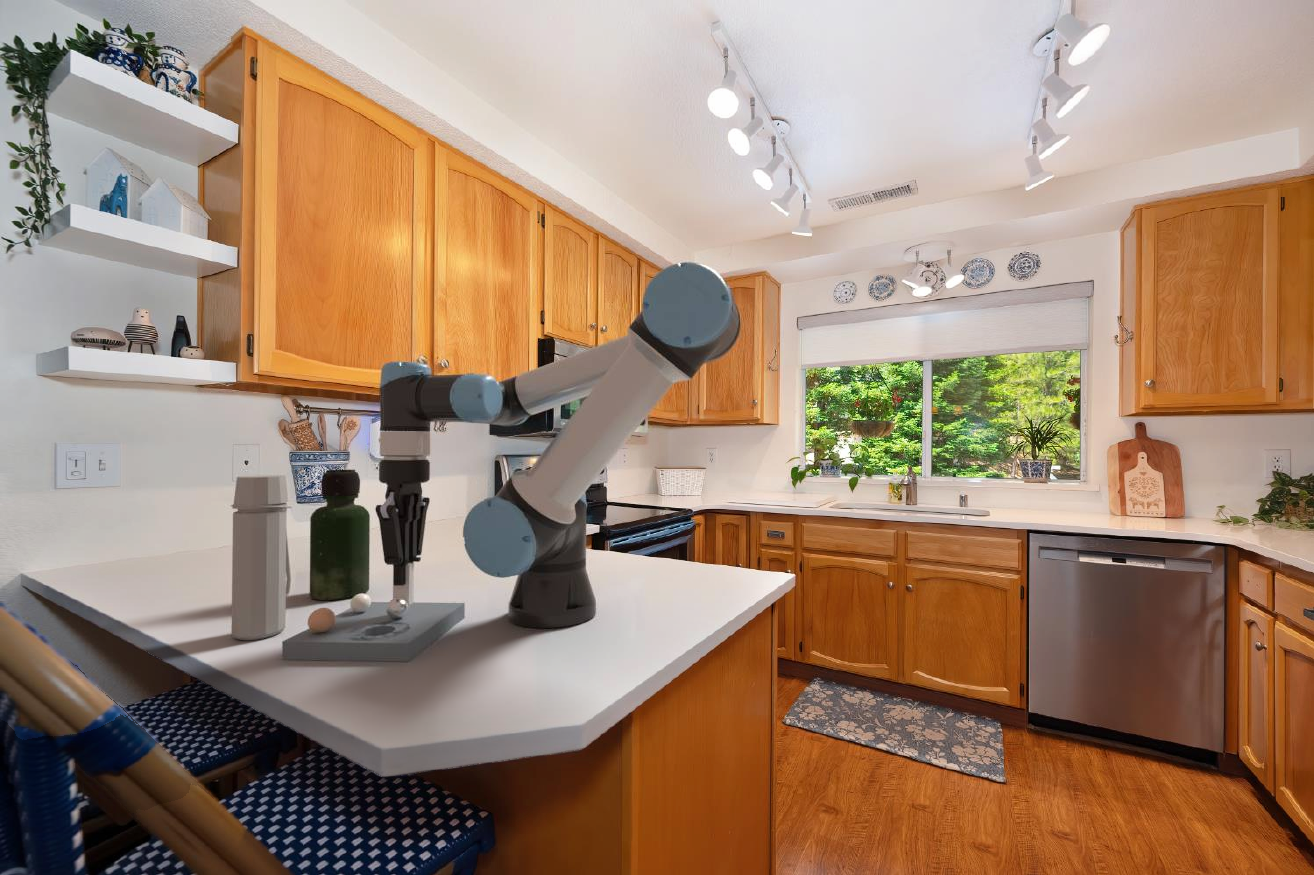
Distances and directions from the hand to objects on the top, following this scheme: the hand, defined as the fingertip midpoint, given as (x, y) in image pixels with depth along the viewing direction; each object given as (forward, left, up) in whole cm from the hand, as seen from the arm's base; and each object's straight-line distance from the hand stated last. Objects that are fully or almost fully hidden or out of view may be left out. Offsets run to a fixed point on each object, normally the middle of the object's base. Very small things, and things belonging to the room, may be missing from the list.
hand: (403, 603), depth 91 cm
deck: (+2, +3, -4) cm, 6 cm away
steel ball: (0, +2, 0) cm, 2 cm away
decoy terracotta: (+8, +9, 0) cm, 12 cm away
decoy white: (+8, -1, 0) cm, 8 cm away
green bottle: (+24, -21, -4) cm, 32 cm away
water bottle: (+22, +2, -4) cm, 22 cm away
